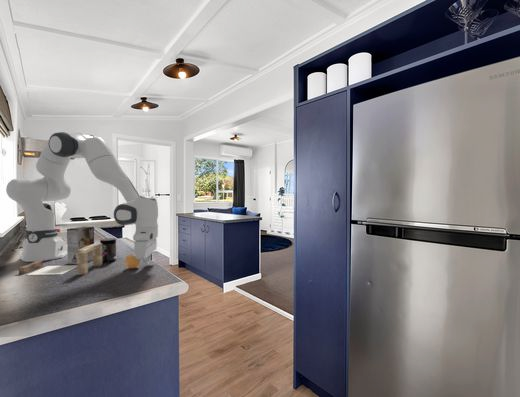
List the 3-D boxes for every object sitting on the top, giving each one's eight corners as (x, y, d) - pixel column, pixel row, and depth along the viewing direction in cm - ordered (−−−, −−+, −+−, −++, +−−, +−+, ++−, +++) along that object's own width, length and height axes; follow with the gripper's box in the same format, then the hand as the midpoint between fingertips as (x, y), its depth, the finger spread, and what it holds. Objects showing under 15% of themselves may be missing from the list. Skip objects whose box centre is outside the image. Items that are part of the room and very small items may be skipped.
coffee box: (83, 259, 134) (83, 226, 133) (94, 259, 132) (94, 226, 132) (66, 263, 125) (66, 228, 124) (78, 264, 123) (78, 229, 123)
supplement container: (103, 259, 132) (102, 238, 132) (118, 259, 134) (118, 237, 134) (97, 263, 126) (97, 240, 126) (113, 262, 127) (113, 240, 127)
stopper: (37, 266, 119) (37, 260, 119) (42, 266, 119) (42, 260, 119) (18, 274, 108) (18, 267, 108) (24, 274, 109) (24, 267, 108)
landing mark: (47, 266, 120) (47, 265, 120) (79, 265, 121) (79, 265, 121) (26, 275, 107) (26, 274, 107) (62, 274, 108) (62, 273, 108)
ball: (127, 266, 121) (127, 253, 120) (142, 266, 121) (142, 252, 121) (122, 270, 115) (122, 256, 114) (137, 270, 115) (137, 255, 115)
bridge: (77, 274, 108) (77, 250, 108) (95, 264, 123) (95, 243, 123) (85, 274, 109) (85, 250, 108) (102, 264, 123) (102, 243, 123)
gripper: (146, 229, 129) (145, 258, 129) (131, 237, 109) (131, 271, 109) (160, 229, 130) (159, 258, 130) (148, 237, 109) (147, 271, 110)
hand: (146, 264), depth 119 cm, fingers closed
